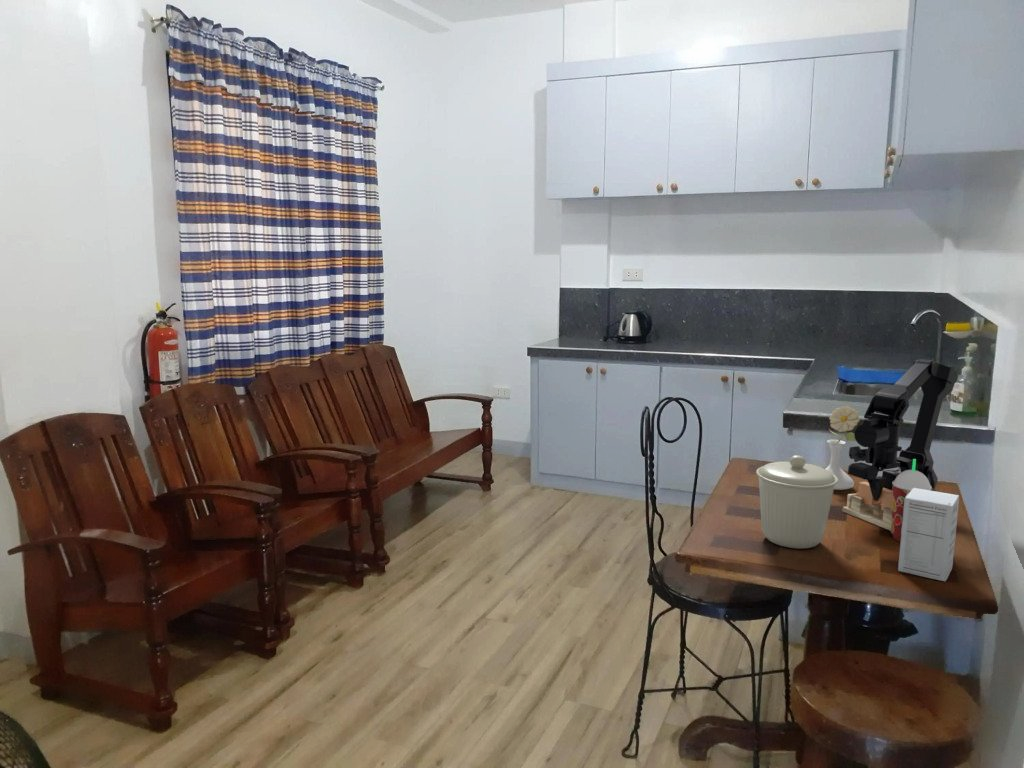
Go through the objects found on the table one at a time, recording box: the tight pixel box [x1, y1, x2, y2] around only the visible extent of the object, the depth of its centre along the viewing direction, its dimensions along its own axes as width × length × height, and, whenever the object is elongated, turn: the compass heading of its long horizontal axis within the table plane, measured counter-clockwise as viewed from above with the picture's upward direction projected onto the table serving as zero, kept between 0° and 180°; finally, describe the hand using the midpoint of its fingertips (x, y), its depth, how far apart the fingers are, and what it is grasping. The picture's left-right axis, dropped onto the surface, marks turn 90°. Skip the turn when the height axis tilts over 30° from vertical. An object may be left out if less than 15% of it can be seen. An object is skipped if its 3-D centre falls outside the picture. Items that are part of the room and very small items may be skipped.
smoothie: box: [890, 459, 933, 543], centre depth 180 cm, size 8×8×20 cm
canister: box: [755, 454, 838, 549], centre depth 178 cm, size 18×18×21 cm
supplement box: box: [897, 488, 960, 582], centre depth 163 cm, size 10×9×17 cm
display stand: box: [841, 492, 892, 532], centre depth 195 cm, size 8×16×5 cm, turn 23°
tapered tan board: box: [857, 480, 892, 510], centre depth 195 cm, size 2×12×5 cm, turn 24°
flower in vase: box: [825, 405, 860, 491], centre depth 219 cm, size 13×11×25 cm
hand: (880, 499), depth 195 cm, fingers open, 3 cm apart
